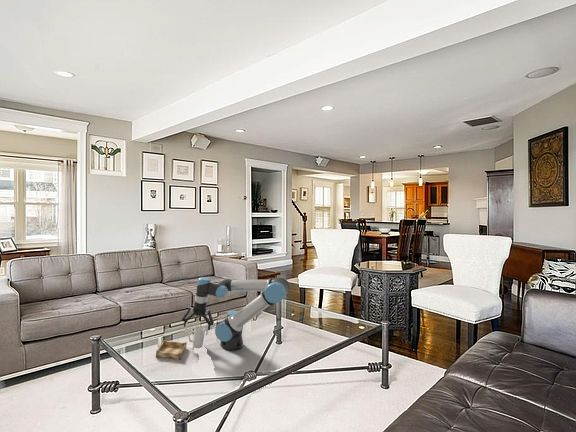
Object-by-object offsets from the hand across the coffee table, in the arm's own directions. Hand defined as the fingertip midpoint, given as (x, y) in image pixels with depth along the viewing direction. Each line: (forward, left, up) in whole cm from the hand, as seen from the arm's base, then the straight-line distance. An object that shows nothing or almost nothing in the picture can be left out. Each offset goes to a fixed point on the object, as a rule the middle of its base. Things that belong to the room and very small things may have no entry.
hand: (196, 333), depth 224 cm
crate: (+12, +12, -9) cm, 19 cm away
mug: (0, 0, -9) cm, 9 cm away
